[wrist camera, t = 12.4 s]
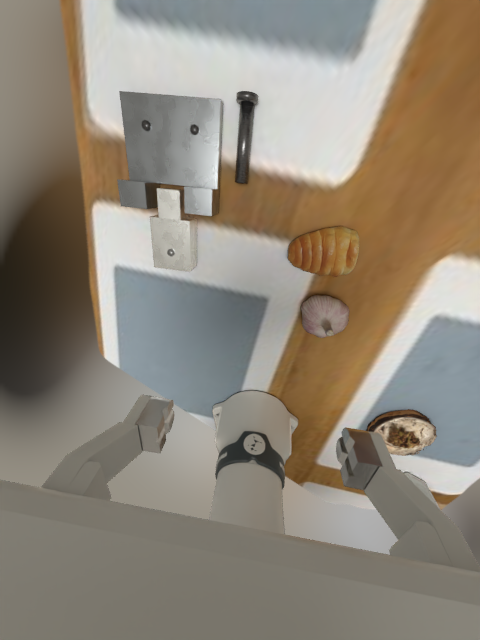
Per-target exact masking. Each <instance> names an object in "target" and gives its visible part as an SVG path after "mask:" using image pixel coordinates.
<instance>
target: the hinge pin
mask: <svg viewBox="0 0 480 640" xmlns="http://www.w3.org/2000/svg"><path fill="white" fill-rule="evenodd" d="M236 101H237V102H238V103H240V117H239V131H238V146H237V161H236V175H235V182H237V183H247V180H248V169H249V157H250V146H251V135H252V124H253V113H254V105H256V104H257V103H258V95H257V94H255V93H253V92H248V91H241V92H238V93H237V100H236Z"/></svg>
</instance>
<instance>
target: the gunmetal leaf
mask: <svg viewBox="0 0 480 640" xmlns="http://www.w3.org/2000/svg"><path fill="white" fill-rule="evenodd" d="M120 100H121V108H122V117H123V125H124V134H125V142H126V151H127V159H128V168H129V177H130V180H117V181H118V188H119V195H120V202H121V206H125V207H134V208H143V209H150V208H156V207H158V200H157V188H160V183H162V184H172V185H181V186H184V205H185V213H188V214H197V215H206V216H213V215H215V214H217V213H219V192H220V168H221V143H222V119H223V102H222V101H221V99H212V98H199V97H186V96H173V95H161V94H148V93H135V92H122V91H120ZM189 186H191V187H189Z"/></svg>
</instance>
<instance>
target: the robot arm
mask: <svg viewBox="0 0 480 640" xmlns="http://www.w3.org/2000/svg"><path fill="white" fill-rule="evenodd" d="M172 407H173V400H170V399H165V398H159V397H154V396H148V395H141V396H140V397H139V398H138V400H137V401H136V403H135V405H134V406H133V408H132V409H131V411H130V412H129V414H128V415H127V417H126V418H125V420H124V422H119V423H117V424H116V425H114V426H113V427H111V428H110V429H108V430H106V431H105V432H103V433H102V434H100V435H98V436H96V437H95V438H93V439H92V440H90V441H88V442H87V443H85V444H83V445H82V446H81V447H79V448H77V449H75V450H74V451H72V452H71V453H69V454H67V455H66V456H65V457H64V459H63V460H62V461H61V462H60V464H59V465H58V466H57V468H56V469H55V470H54V471H53V473H52V474H51V475H50V476H49V478H48V479H47V480H46V482H45V483H44V484H43V485H42V487H41V488H40V487H36V486H30V485H25V484H20V483H15V482H10V481H5V480H0V640H480V567H479V565H478V563H477V561H476V559H475V557H474V556H473V554H472V552H471V550H470V548H469V546H468V544H467V543H466V541H465V539H464V537H463V535H462V533H461V532H460V530H459V528H458V527H457V526H456V525H455V524H454V523H453V522H452V521H451V520H450V519H449V518H448V517H447V516H446V515H445V514H444V513H443V512H442V511H441V510H440V509H439V508H438V507H437V506H436V505H435V504H434V503H433V502H432V501H431V500H430V499H429V498H428V497H427V496H426V495H425V494H424V493H423V492H422V491H421V490H420V489H419V488H418V487H417V486H416V485H415V484H414V483H413V482H412V481H411V480H410V479H409V478H408V477H407V476H406V475H405V474H404V473H403V472H402V471H401V470H398V469H396V467H395V465H394V463H393V460H392V458H391V456H390V454H389V451H388V449H387V447H386V445H385V442H384V440H383V438H382V436H381V435H380V433H375V432H369V431H364V430H357V429H351V428H344V429H343V431H342V436H343V437H341V438H339V439H338V442H337V446H336V453H337V458H338V461H339V462H340V463H341V465H342V468H341V470H340V471H341V475H342V479H343V484H344V486H346V487H351V488H356V489H361V490H364V492H365V494H366V495H367V496H368V498H369V499H370V501H371V502H372V503H373V505H374V506H375V508H376V509H377V511H378V512H379V513H380V515H381V516H382V517H383V519H384V520H385V522H386V523H387V525H388V526H389V527H390V529H391V530H392V532H393V533H394V534H395V536H396V537H397V539H398V541H397V542H396V543H395V544H394V545H393V546H392V547H391V549H390V550H389V552H390V555H388V554H383V553H377V552H372V551H366V550H362V549H356V548H352V547H346V546H341V545H336V544H331V543H326V542H320V541H315V540H310V539H305V538H300V537H295V536H290V535H285V529H284V517H283V503H282V502H283V501H282V489H283V488H284V479H285V469H284V465H285V463H286V460H287V459H288V458H289V455H291V435H292V433H293V432H294V430H295V429H296V427H297V426H298V419H297V418H296V417H295V416H294V415H292V414H291V413H289V412H288V410H287V409H286V407H285V406H284V404H283V403H282V402H281V401H280V400H279V399H277V398H276V397H274V396H272V395H270V394H267V393H264V392H259V391H244V392H240V393H237V394H234V395H233V396H231V397H230V398H228V399H227V400H226V401H225V402H222V403H219V404H216V405H214V406H213V410H212V412H213V416H214V421H215V425H216V434H215V440H214V441H215V443H216V446H217V449H218V452H219V457H218V461H217V464H216V474H215V475H216V480H217V481H216V486H215V491H214V496H213V501H212V506H211V512H210V517H209V520H207V519H202V518H196V517H191V516H185V515H181V514H176V513H171V512H165V511H160V510H155V509H149V508H144V507H139V506H134V505H129V504H124V503H118V502H113V501H110V499H111V495H110V491H109V488H108V485H107V483H108V482H109V481H110V480H111V479H112V478H113V477H115V476H116V475H117V474H118V473H119V472H120V471H121V470H122V469H124V468H125V467H126V466H127V465H128V464H129V463H130V462H131V461H133V460H134V459H135V458H136V457H137V456H138V455H139V454H141V453H142V451H148V452H155V453H161V451H162V448H163V446H164V444H165V441H166V434H167V433H168V432H170V430H171V427H172V424H173V420H174V411H173V410H172Z"/></svg>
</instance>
